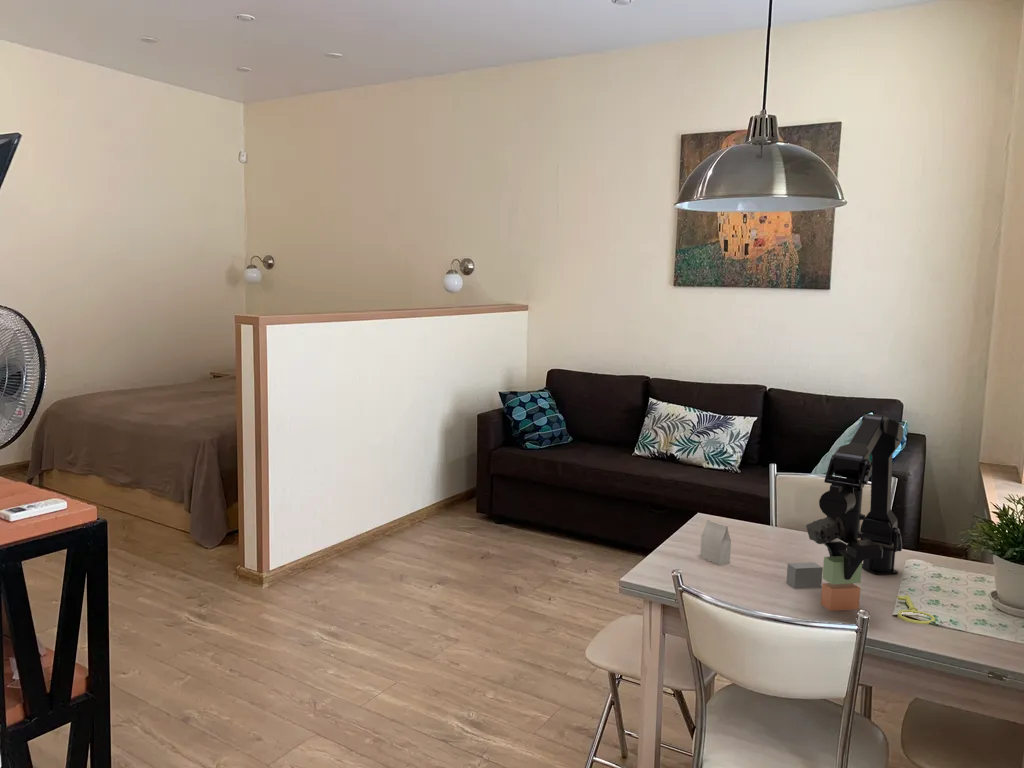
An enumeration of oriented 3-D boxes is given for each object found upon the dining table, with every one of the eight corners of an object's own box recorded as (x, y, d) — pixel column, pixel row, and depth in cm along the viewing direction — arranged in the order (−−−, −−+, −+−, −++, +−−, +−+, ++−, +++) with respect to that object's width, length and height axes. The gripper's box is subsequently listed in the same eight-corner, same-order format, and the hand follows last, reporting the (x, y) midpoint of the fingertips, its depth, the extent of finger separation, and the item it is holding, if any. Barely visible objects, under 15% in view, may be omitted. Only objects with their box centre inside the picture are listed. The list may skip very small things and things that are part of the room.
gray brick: (812, 582, 187) (814, 562, 186) (821, 587, 183) (822, 567, 183) (786, 583, 186) (787, 563, 185) (794, 588, 182) (795, 568, 181)
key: (907, 602, 176) (908, 594, 175) (939, 626, 164) (940, 617, 163) (876, 603, 175) (877, 594, 175) (906, 626, 163) (907, 617, 163)
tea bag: (719, 565, 197) (721, 527, 195) (700, 557, 202) (702, 520, 201) (729, 563, 199) (731, 525, 197) (710, 555, 204) (712, 518, 203)
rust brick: (848, 603, 174) (850, 581, 174) (858, 609, 171) (860, 587, 170) (820, 604, 173) (822, 583, 172) (830, 611, 169) (831, 589, 169)
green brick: (850, 577, 174) (852, 555, 173) (860, 582, 170) (862, 561, 169) (822, 578, 172) (824, 556, 172) (831, 584, 169) (833, 562, 168)
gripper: (790, 497, 177) (786, 563, 179) (838, 521, 159) (833, 594, 160) (834, 496, 179) (830, 561, 181) (887, 520, 161) (881, 591, 162)
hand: (841, 576), depth 171 cm, fingers closed on green brick, 3 cm apart
